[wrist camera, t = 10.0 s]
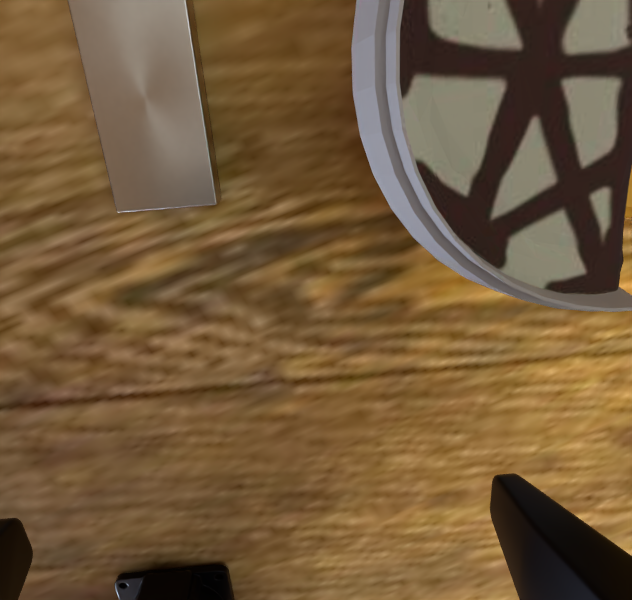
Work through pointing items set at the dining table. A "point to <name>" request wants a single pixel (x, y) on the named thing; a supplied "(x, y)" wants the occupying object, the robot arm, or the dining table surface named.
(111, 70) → the silver flat block
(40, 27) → the dining table surface
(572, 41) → the food container
